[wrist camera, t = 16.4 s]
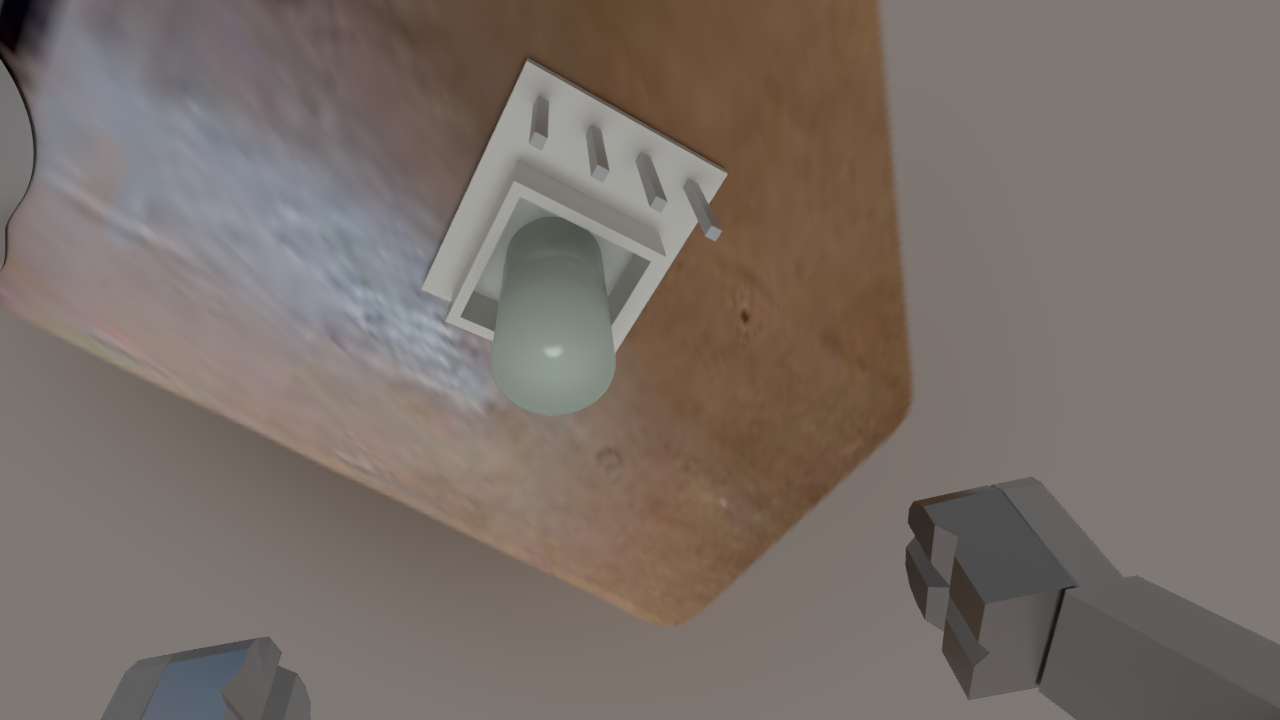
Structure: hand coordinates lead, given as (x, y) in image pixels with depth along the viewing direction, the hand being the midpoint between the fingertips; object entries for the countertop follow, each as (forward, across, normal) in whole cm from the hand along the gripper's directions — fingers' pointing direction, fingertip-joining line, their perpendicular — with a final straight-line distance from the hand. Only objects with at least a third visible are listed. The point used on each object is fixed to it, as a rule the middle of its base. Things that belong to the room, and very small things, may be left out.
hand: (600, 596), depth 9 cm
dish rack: (+33, +1, +9) cm, 34 cm away
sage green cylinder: (+32, +2, +10) cm, 34 cm away
